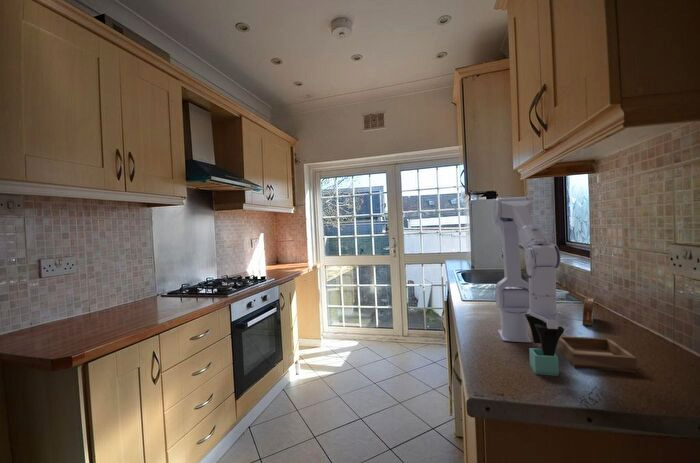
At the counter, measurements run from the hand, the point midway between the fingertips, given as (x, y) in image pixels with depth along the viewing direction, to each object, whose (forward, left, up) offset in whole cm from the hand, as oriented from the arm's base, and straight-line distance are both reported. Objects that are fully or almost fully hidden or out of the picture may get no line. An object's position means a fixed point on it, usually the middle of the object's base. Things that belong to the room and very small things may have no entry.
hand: (543, 348), depth 80 cm
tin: (-42, +26, -6) cm, 50 cm away
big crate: (-9, +14, -5) cm, 18 cm away
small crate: (0, 0, -6) cm, 6 cm away
